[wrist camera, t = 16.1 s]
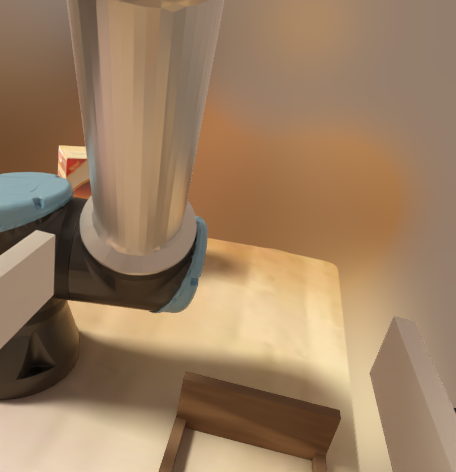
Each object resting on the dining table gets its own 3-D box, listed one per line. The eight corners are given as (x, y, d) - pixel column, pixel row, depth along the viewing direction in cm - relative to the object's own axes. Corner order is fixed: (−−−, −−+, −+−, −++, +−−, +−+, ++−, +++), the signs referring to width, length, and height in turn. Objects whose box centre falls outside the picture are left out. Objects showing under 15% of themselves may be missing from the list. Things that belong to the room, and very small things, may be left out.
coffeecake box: (61, 264, 76) (65, 157, 68) (54, 245, 81) (57, 144, 73) (143, 257, 84) (155, 160, 76) (131, 240, 89) (141, 148, 81)
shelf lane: (177, 416, 51) (186, 371, 48) (321, 454, 50) (339, 410, 48) (144, 518, 40) (154, 467, 37) (329, 568, 39) (353, 520, 36)
